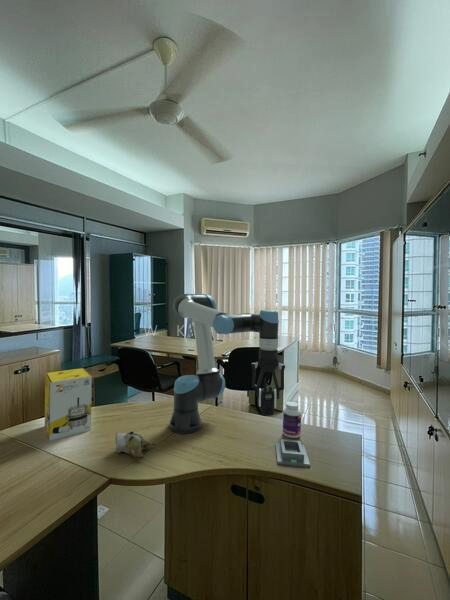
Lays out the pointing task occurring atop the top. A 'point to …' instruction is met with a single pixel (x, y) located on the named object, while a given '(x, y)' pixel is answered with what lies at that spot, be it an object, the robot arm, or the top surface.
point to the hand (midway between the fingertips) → (267, 405)
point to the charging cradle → (291, 453)
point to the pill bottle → (291, 420)
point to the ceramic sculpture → (131, 444)
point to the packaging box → (67, 402)
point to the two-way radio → (267, 401)
